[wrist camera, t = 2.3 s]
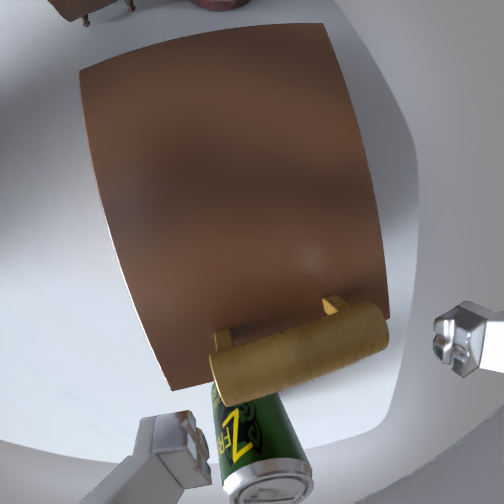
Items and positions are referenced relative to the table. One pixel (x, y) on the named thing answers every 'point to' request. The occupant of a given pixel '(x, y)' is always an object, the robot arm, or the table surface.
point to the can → (221, 4)
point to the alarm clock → (83, 8)
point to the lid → (240, 206)
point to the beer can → (260, 452)
